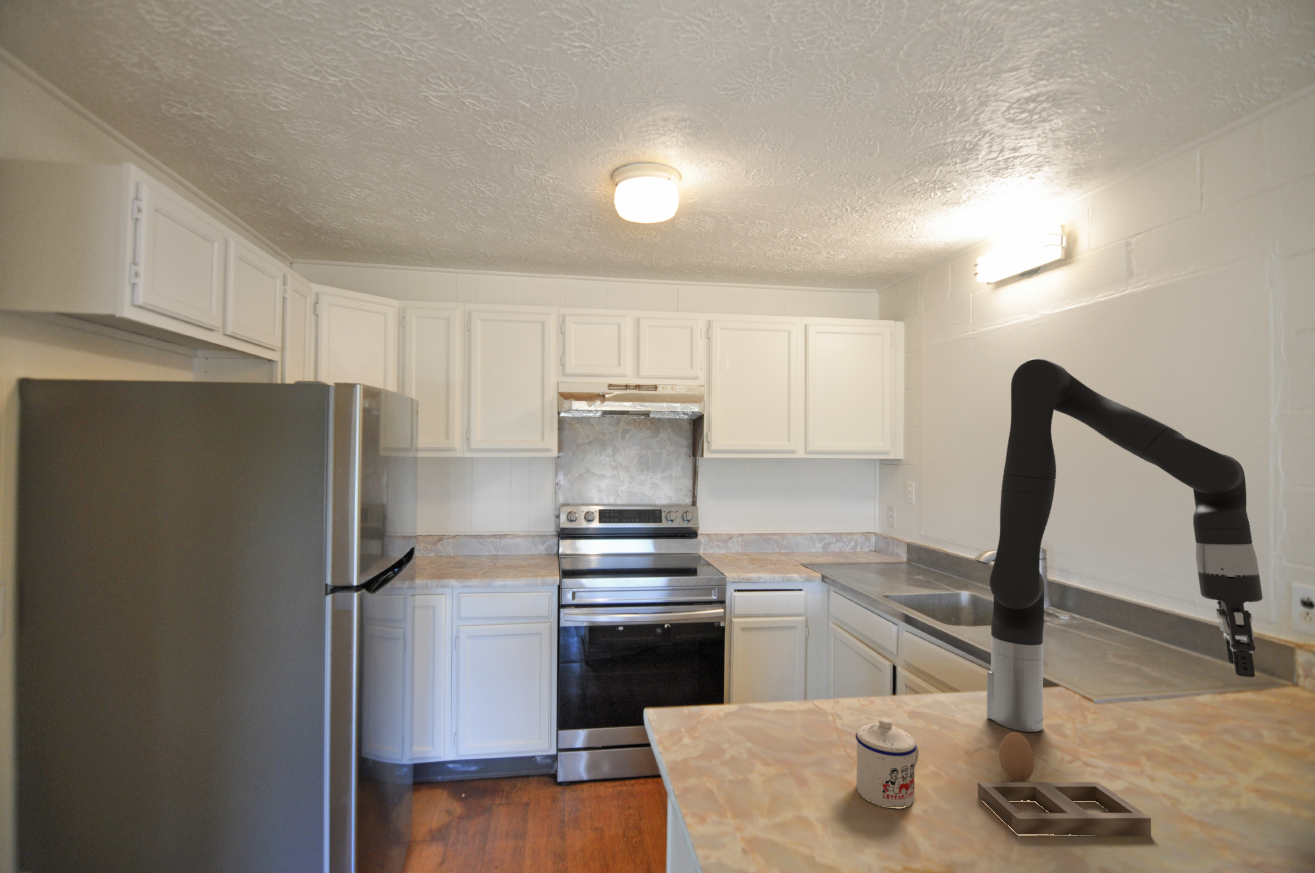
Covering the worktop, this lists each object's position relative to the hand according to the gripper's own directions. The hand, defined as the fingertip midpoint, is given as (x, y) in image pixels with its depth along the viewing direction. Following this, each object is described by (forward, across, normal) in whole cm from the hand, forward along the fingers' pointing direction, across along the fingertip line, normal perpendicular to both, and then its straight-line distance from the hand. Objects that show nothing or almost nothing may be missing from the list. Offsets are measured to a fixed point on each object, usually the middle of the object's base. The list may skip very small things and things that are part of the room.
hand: (1241, 669), depth 98 cm
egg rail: (+18, +28, -25) cm, 41 cm away
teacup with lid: (+17, +38, -46) cm, 62 cm away
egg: (+18, +20, -31) cm, 41 cm away
